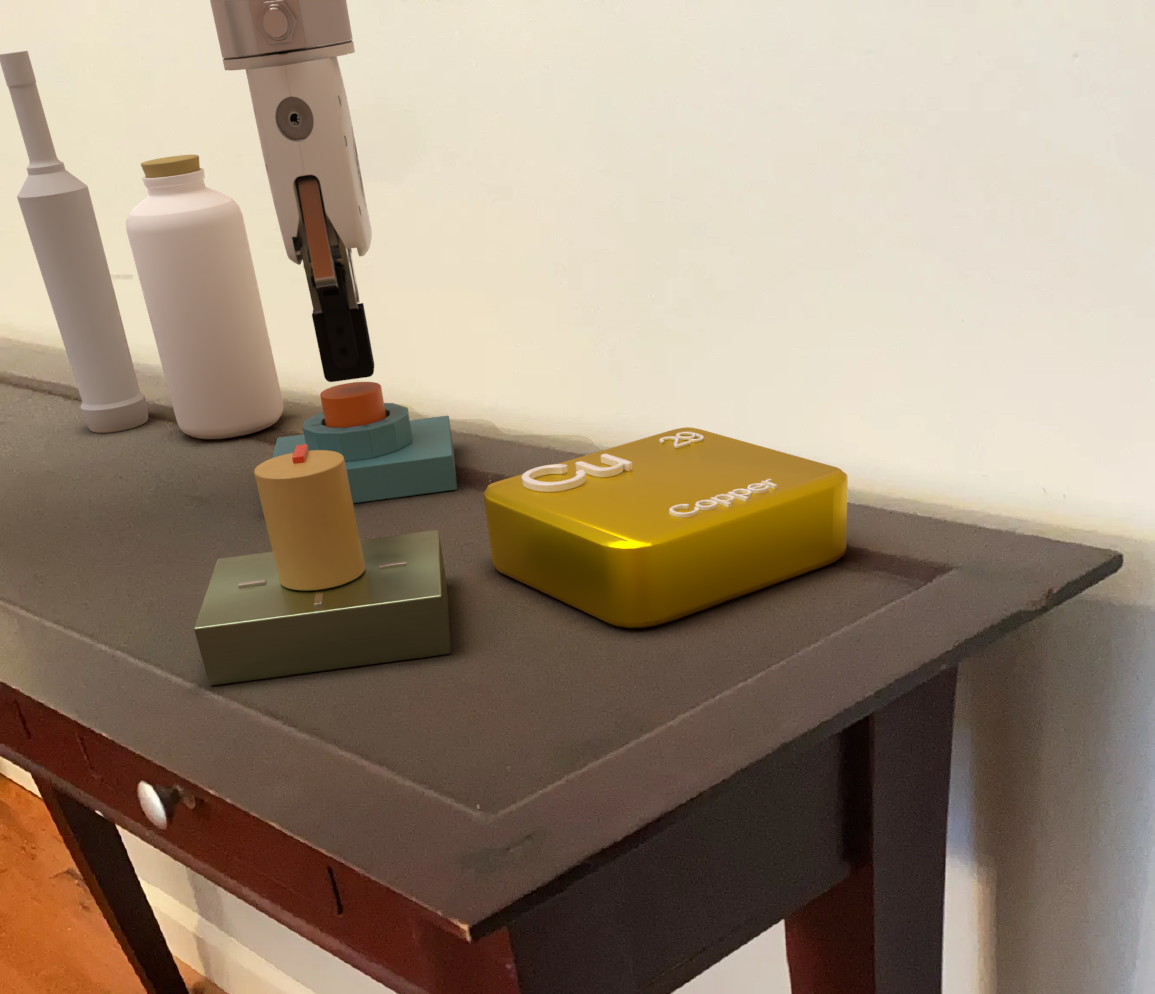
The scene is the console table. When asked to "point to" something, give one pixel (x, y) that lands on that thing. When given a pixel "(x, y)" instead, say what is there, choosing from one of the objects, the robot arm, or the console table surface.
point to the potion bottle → (203, 303)
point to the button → (353, 404)
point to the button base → (385, 453)
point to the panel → (325, 614)
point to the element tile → (666, 525)
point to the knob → (310, 519)
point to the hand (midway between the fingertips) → (350, 375)
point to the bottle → (73, 266)
